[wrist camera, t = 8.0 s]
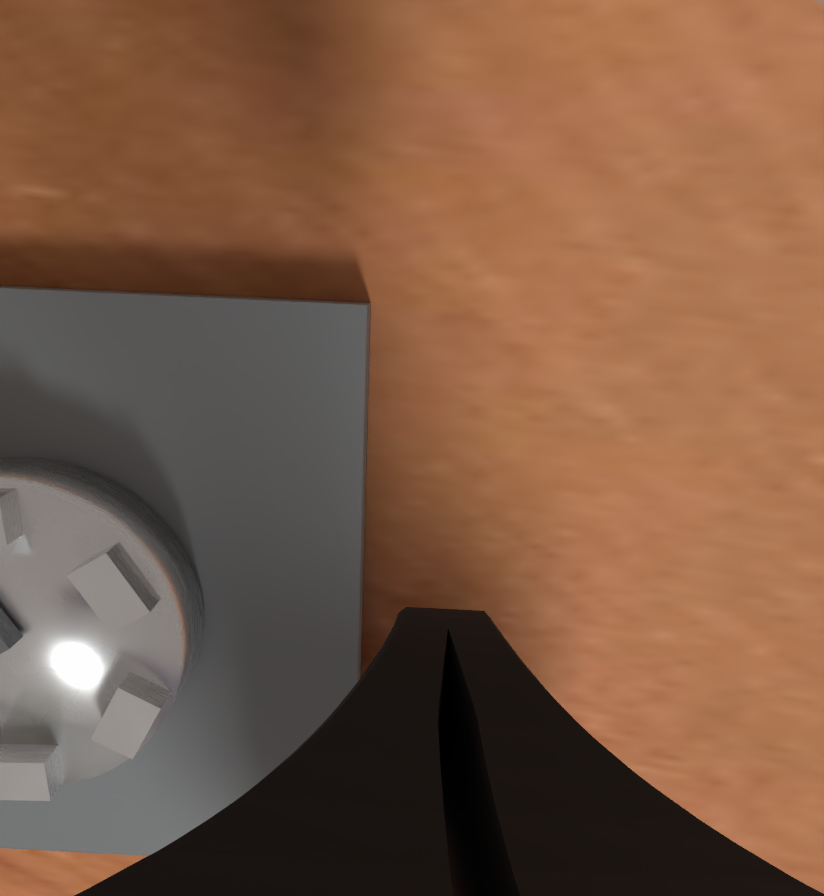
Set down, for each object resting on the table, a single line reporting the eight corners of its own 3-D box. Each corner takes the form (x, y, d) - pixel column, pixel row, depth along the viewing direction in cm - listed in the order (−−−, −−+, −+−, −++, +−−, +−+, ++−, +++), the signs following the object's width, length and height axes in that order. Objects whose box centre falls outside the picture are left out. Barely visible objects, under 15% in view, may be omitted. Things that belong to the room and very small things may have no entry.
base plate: (356, 836, 23) (352, 869, 21) (-162, 808, 23) (-196, 840, 22) (371, 302, 18) (366, 305, 17) (-281, 272, 18) (-334, 272, 17)
